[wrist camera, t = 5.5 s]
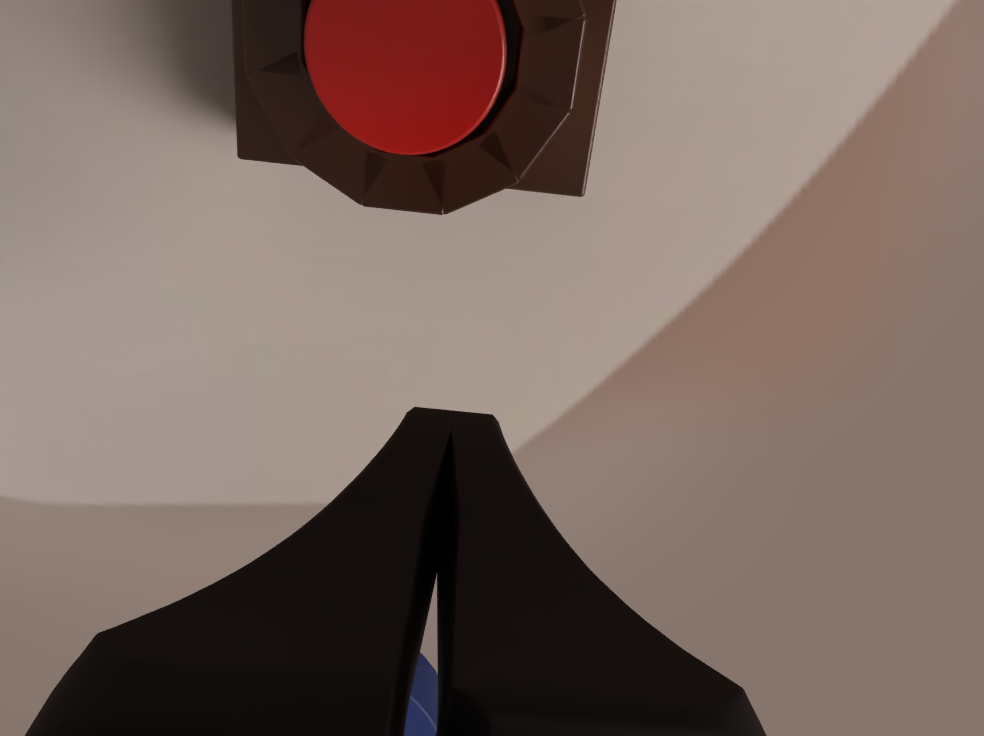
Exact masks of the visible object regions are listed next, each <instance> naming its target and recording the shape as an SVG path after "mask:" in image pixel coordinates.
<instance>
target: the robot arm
mask: <svg viewBox="0 0 984 736" xmlns="http://www.w3.org/2000/svg"><path fill="white" fill-rule="evenodd" d="M436 575H437V613H438V614H437V617H438V618H437V623H438V626H437V629H438V709H437V730H436V736H766V734H765V732H764V730H763V728H762V725H761V723H760V721H759V719H758V717H757V715H756V713H755V711H754V709H753V707H752V705H751V703H750V701H749V699H748V697H747V695H746V693H745V691H744V689H743V688H742V687H740V686H738V685H737V684H736V683H734V682H732V681H731V680H730V679H728V678H726V677H725V676H723V675H722V674H720V673H719V672H717V671H716V670H714V669H712V668H711V667H709V666H708V665H706V664H705V663H703V662H702V661H700V660H699V659H697V658H696V657H694V656H692V655H691V654H689V653H688V652H686V651H685V650H683V649H682V648H681V647H679V646H678V645H676V644H675V643H674V642H673V641H671V640H670V639H669V638H667V637H666V636H665V635H663V634H662V633H661V632H659V631H658V630H657V629H655V628H654V627H653V626H652V625H650V624H649V623H648V622H646V621H645V620H644V619H643V618H641V616H639V615H638V614H637V613H636V612H635V611H633V610H632V609H631V608H630V607H629V606H628V605H626V604H625V603H624V602H623V601H622V600H621V599H620V598H619V597H618V596H617V595H616V594H615V593H614V592H613V591H611V590H610V589H609V588H608V587H607V586H606V585H605V584H604V583H603V582H602V581H601V580H600V579H599V578H598V577H597V576H596V575H595V574H594V573H593V572H592V571H591V570H590V569H589V568H588V567H587V566H586V565H585V563H584V562H583V561H582V560H581V559H580V557H579V556H578V555H577V554H576V553H575V552H574V550H573V549H572V548H571V547H570V546H569V544H568V543H567V542H566V541H565V539H564V538H563V537H562V535H561V534H560V533H559V531H558V530H557V529H556V527H555V526H554V524H553V523H552V522H551V520H550V519H549V517H548V516H547V514H546V513H545V511H544V510H543V509H542V507H541V506H540V504H539V502H538V501H537V499H536V498H535V496H534V495H533V493H532V491H531V489H530V488H529V486H528V484H527V482H526V481H525V479H524V477H523V475H522V474H521V472H520V470H519V468H518V466H517V464H516V463H515V461H514V459H513V456H512V454H511V452H510V450H509V448H508V446H507V444H506V441H505V439H504V437H503V434H502V431H501V428H500V425H499V422H498V421H497V419H496V418H495V417H494V416H493V415H491V414H481V413H471V412H461V411H451V410H441V409H431V408H420V407H414V408H413V409H411V410H410V411H408V412H407V413H406V415H405V417H404V419H403V420H402V422H401V423H400V425H399V426H398V428H397V429H396V431H395V432H394V433H393V435H392V436H391V437H390V439H389V440H388V441H387V443H386V444H385V445H384V446H383V448H382V449H381V450H380V451H379V452H378V453H377V455H376V456H375V457H374V458H373V459H372V460H371V462H370V463H369V464H368V465H367V466H366V467H365V468H364V470H363V471H362V472H361V473H360V474H359V475H358V476H357V477H356V478H355V479H354V480H353V481H352V482H351V483H350V484H349V485H348V486H347V487H346V488H345V489H344V490H343V491H342V492H341V493H340V494H339V495H338V496H337V497H336V498H335V499H334V500H333V501H332V502H331V503H329V504H328V505H327V506H326V507H325V508H324V509H323V510H322V511H320V512H319V513H318V514H317V515H316V516H315V517H313V518H312V519H311V520H310V521H309V522H307V523H306V524H305V525H303V526H302V527H301V528H300V529H299V530H297V531H296V532H295V533H293V534H292V535H291V536H289V537H288V538H287V539H285V540H284V541H282V542H281V543H279V544H278V545H276V546H275V547H274V548H272V549H271V550H269V551H268V552H266V553H265V554H263V555H262V556H260V557H259V558H257V559H255V560H254V561H252V562H251V563H249V564H248V565H246V566H244V567H243V568H241V569H239V570H237V571H236V572H234V573H232V574H230V575H228V576H226V577H225V578H223V579H221V580H219V581H217V582H215V583H214V584H212V585H209V586H208V587H205V588H203V589H201V590H199V591H197V592H195V593H193V594H191V595H189V596H188V597H185V598H183V599H181V600H179V601H176V602H174V603H172V604H170V605H168V606H165V607H163V608H160V609H158V610H155V611H153V612H150V613H148V614H145V615H143V616H141V617H138V618H136V619H133V620H131V621H128V622H126V623H123V624H121V625H119V626H116V627H114V628H111V629H108V630H105V631H103V632H100V633H98V634H97V635H95V637H94V638H93V639H92V641H91V642H90V643H89V645H88V646H87V647H86V649H85V650H84V651H83V653H82V654H81V655H80V656H79V658H78V659H77V660H76V661H75V662H74V663H73V665H72V666H71V667H70V668H69V670H68V671H67V672H66V674H65V675H64V676H63V678H62V679H61V680H60V682H59V683H58V684H57V686H56V687H55V688H54V690H53V691H52V693H51V694H50V696H49V698H48V699H47V701H46V703H45V704H44V706H43V707H42V709H41V710H40V712H39V714H38V716H37V717H36V718H35V720H34V722H33V723H32V725H31V726H30V728H29V730H28V731H27V733H26V735H25V736H404V732H405V724H406V718H407V712H408V706H409V701H410V695H411V690H412V686H413V681H414V676H415V672H416V667H417V663H418V658H419V653H420V649H421V644H422V640H423V635H424V630H425V626H426V621H427V617H428V612H429V607H430V603H431V598H432V593H433V588H434V584H435V579H436Z"/></svg>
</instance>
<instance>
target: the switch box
mask: <svg viewBox="0 0 984 736" xmlns="http://www.w3.org/2000/svg"><path fill="white" fill-rule="evenodd" d="M616 1H617V0H497V2H498V4H499V7H500V10H501V13H502V16H503V21H504V26H505V33H506V46H507V55H506V68H505V73H504V79H503V82H502V85H501V89H500V92H499V94H498V96H497V98H496V100H495V103H494V105H493V106H492V108H491V109H490V111H489V113H488V114H487V116H486V117H485V118H484V119H483V121H482V122H481V123H480V124H479V125H478V126H477V127H476V128H475V129H474V130H473V131H472V132H471V133H470V134H469V135H467V136H466V137H464V138H463V139H462V140H460V141H459V142H457V143H455V144H453V145H451V146H449V147H447V148H444V149H442V150H439V151H436V152H432V153H427V154H420V155H399V154H394V153H388V152H385V151H381V150H378V149H375V148H373V147H371V146H369V145H366V144H364V143H362V142H361V141H359V140H358V139H356V138H354V137H353V136H351V135H350V134H349V133H348V132H346V131H345V130H344V129H343V128H342V127H341V126H340V125H339V124H338V123H337V122H336V121H335V120H334V119H333V118H332V117H331V116H330V114H329V113H328V112H327V110H326V109H325V108H324V106H323V105H322V103H321V101H320V99H319V98H318V96H317V94H316V92H315V90H314V87H313V85H312V83H311V80H310V77H309V73H308V70H307V66H306V60H305V55H304V26H305V21H306V15H307V11H308V8H309V5H310V2H311V0H232V24H233V51H234V77H235V103H236V130H237V155H238V158H240V159H244V160H253V161H262V162H271V163H280V164H289V165H298V166H304V167H306V168H307V169H309V170H310V171H312V172H313V173H314V174H316V175H317V176H319V177H320V178H322V179H323V180H325V181H326V182H328V183H329V184H330V185H332V186H333V187H335V188H336V189H338V190H339V191H341V192H342V193H344V194H345V195H347V196H348V197H349V198H351V199H352V200H354V201H355V202H357V203H358V204H360V205H363V206H365V207H374V208H383V209H392V210H402V211H411V212H420V213H429V214H438V215H443V214H448V213H450V212H453V211H455V210H457V209H460V208H462V207H464V206H467V205H469V204H471V203H473V202H476V201H478V200H480V199H483V198H485V197H487V196H490V195H492V194H494V193H497V192H499V191H501V190H503V189H514V190H523V191H532V192H541V193H550V194H559V195H568V196H577V197H582V196H584V194H585V189H586V183H587V177H588V171H589V165H590V159H591V153H592V147H593V141H594V135H595V128H596V122H597V116H598V110H599V104H600V98H601V92H602V86H603V80H604V74H605V68H606V62H607V55H608V49H609V43H610V37H611V31H612V25H613V19H614V13H615V7H616Z"/></svg>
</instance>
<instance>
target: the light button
mask: <svg viewBox="0 0 984 736" xmlns="http://www.w3.org/2000/svg"><path fill="white" fill-rule="evenodd" d="M304 55H305V60H306V66H307V70H308V73H309V77H310V80H311V83H312V85H313V87H314V90H315V92H316V94H317V96H318V98H319V99H320V101H321V103H322V105H323V106H324V108H325V109H326V110H327V112H328V113H329V114H330V116H331V117H332V118H333V119H334V120H335V121H336V122H337V123H338V124H339V125H340V126H341V127H342V128H343V129H344V130H345V131H346V132H348V133H349V134H350V135H351V136H353V137H354V138H356V139H358V140H359V141H361V142H362V143H364V144H366V145H369V146H371V147H373V148H375V149H378V150H381V151H385V152H388V153H394V154H399V155H420V154H427V153H432V152H436V151H439V150H442V149H444V148H447V147H449V146H451V145H453V144H455V143H457V142H459V141H460V140H462V139H463V138H464V137H466V136H467V135H469V134H470V133H471V132H472V131H473V130H474V129H475V128H476V127H477V126H478V125H479V124H480V123H481V122H482V121H483V119H484V118H485V117H486V116H487V114H488V113H489V111H490V109H491V108H492V106H493V105H494V103H495V100H496V98H497V96H498V94H499V92H500V89H501V85H502V82H503V79H504V73H505V68H506V55H507V46H506V33H505V26H504V21H503V16H502V13H501V10H500V7H499V4H498V2H497V0H311V2H310V5H309V8H308V11H307V15H306V21H305V26H304Z"/></svg>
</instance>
